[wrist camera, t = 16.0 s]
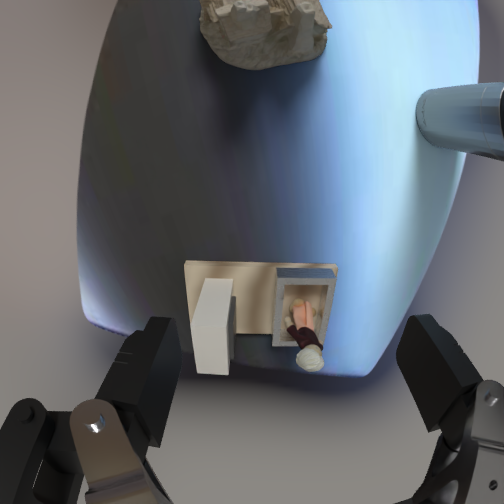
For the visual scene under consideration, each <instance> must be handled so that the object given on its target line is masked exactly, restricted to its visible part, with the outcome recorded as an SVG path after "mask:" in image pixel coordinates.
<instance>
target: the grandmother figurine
mask: <svg viewBox="0 0 504 504" xmlns="http://www.w3.org/2000/svg"><path fill="white" fill-rule="evenodd" d="M289 311H290V312H291V313H293V318H294V322H295V325H296V327H295V325H294V324H293V322H291V318H290V317H288V316H287V317H285V318H284V319H283V321H284V323H285V326H286V328H287V329H286V330H287V332H288V333H289V334H290V335H291V336H292V337H293V339H294V340H295V341H296V342H297V344H298V345H299V347H300V348H301V351H300V352H299V353H298V354H297V358H296V363H297V364H298V365H299V366H300V367H301V368H303V369H305V370H306V371H309V372H312V371H318V370H320V369H321V368H322V367H323V366H324V360H323V358H322V352H321V351H322V350H323V342H322V341H321V340H318V338H317V336H316V334H315V332H314V326H313V317H315V315H316V310H315V308H313V307H312V305H311V303H310V302H308V301H304V300H303V299H300V298H298V299H295V300H294V301H293V303H292V304H291V305H290V307H289Z"/></svg>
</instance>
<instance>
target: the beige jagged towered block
mask: <svg viewBox="0 0 504 504" xmlns="http://www.w3.org/2000/svg"><path fill="white" fill-rule="evenodd" d="M199 1H200V4H201V7H202V9H201V16H200V18H199V20H200V31H201V33H202V34H203V36H204V38H205V39H206V40H207V42H208V44H209V45H210V47H211V49H212V50H213V51H214V52H215V53H216V55H218V57H219V58H220V59H221V60H223V61H224V62H225V63H228V64H230V65H233V66H236V67H239V68H243V69H248V70H262V69H266V68H271V67H274V66H279V65H287V64H292V63H297V62H303V61H310V60H313V59H315V58H316V57H318V56H319V55H321V54H322V53H323V51H324V49H325V47H326V43H327V36H326V32H327V29H329V28H332V25H331V24H330V23H329V20H328V18H327V17H326V15H325V13H324V11H323V9H322V6H321V4H320V2H319V0H199Z"/></svg>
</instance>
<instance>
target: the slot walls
mask: <svg viewBox="0 0 504 504" xmlns="http://www.w3.org/2000/svg"><path fill="white" fill-rule="evenodd" d="M336 280H337V278H336V276H335V274H334V272H333V270H332V268H279V267H276V278H275V293H274V307H273V320H272V333H271V335H272V346H299V345H298V344H297V342H296V341H295V340H294V339H293V337H292V336H291V335H290V334H289V333H288V332H287V330H286V329H281V320H282V309H283V299H284V287H285V285H322V291H321V297H320V303H319V309H318V314H317V320H316V325H315V329H314V332H315V334H316V336H317V338H318V340H321V341H322V342H323V344H324V340H325V335H326V331H327V326H328V321H329V316H330V312H331V307H332V301H333V296H334V291H335V285H336Z"/></svg>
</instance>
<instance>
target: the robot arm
mask: <svg viewBox="0 0 504 504" xmlns="http://www.w3.org/2000/svg"><path fill="white" fill-rule="evenodd" d="M416 116H417V122H418V125H419V128H420V130H421V132H422V134H423V136H424V137H425V138H426V139H427V141H429V142H430V143H431V144H432V145H434V146H436V147H440V148H445V149H451V150H455V151H461V152H465V153H470V154H475V155H479V156H484V157H488V158H492V159H496V160H500V161H504V82H497V83H483V84H471V85H461V86H452V87H444V88H438V89H431V90H428V91H426V92H424V93H423V94H422V95H421V97H420V98H419V100H418V103H417V109H416ZM396 359H397V364H398V366H399V368H400V370H401V372H402V374H403V376H404V379H405V381H406V383H407V385H408V387H409V389H410V391H411V393H412V396H413V398H414V400H415V402H416V405H417V407H418V409H419V411H420V414H421V416H422V418H423V421H424V423H425V425H426V428H427V430H428V432H432V431H435V430H438V429H441V431H442V433H441V435H440V436H439V438H438V440H437V444H436V447H435V450H434V453H433V456H432V460H431V462H430V466H429V468H428V471H427V474H426V476H425V479H424V481H423V483H422V484H421V486H420V487H419V488H418V490H417V491H416V492H415V493H414V495H413V497H412V498H410V499H407V500H404V501H401V502H398V503H395V504H504V387H503V386H502V385H501V384H500V383H498V382H496V381H493V380H485V381H484V380H483V379H482V377H481V376H480V374H479V373H478V371H477V370H476V368H475V367H474V365H473V364H472V362H471V361H470V360H469V358H468V357H467V355H466V354H465V353H463V350H462V348H461V347H460V345H458V343H457V341H456V340H455V339H454V337H453V336H452V335H451V334H450V333H449V332H448V331H447V330H445V329H444V328H442V327H441V326H439V324H438V323H437V322H436V320H435V319H434V318H433V316H432V315H430V314H423V315H413V316H410V317H409V319H408V321H407V324H406V326H405V329H404V332H403V335H402V337H401V340H400V342H399V345H398V348H397V352H396ZM181 367H182V351H181V346H180V341H179V336H178V331H177V326H176V321H175V319H174V318H166V317H151V318H150V319H149V321H148V323H147V325H146V327H145V329H144V331H140V330H136V331H135V332H134V333H133V334H131V335H130V336H129V337H128V338H127V339H126V340H125V341H124V343H123V345H122V347H121V349H120V352H119V353H118V354H117V356H116V358H115V362H113V364H112V366H111V367H110V369H109V371H108V373H107V375H106V377H105V379H104V381H103V383H102V385H101V387H100V389H99V391H98V393H97V395H96V397H95V398H94V399H90V400H86V401H84V402H82V403H80V404H79V405H77V407H75V408H74V410H73V411H71V412H67V411H65V412H64V411H47V410H46V409H45V408H44V406H43V405H42V403H40V402H39V401H38V400H36V399H33V398H26V399H22V400H20V401H18V402H17V403H16V404H15V405H14V406H13V407H12V409H11V410H10V412H9V414H8V416H7V418H6V420H5V422H4V423H3V425H2V427H1V429H0V504H77V500H78V495H79V492H80V488H81V484H82V481H83V477H84V475H85V478H86V480H87V483H88V487H89V490H88V491H87V492H86V493H85V501H86V504H174V503H173V502H172V500H171V499H170V497H169V496H168V494H167V493H166V491H165V489H164V488H163V486H162V485H161V483H160V481H159V479H158V478H157V476H156V474H155V472H154V471H153V469H152V467H151V465H150V464H149V462H148V460H147V458H146V453H147V449H148V446H152V447H158V448H160V445H161V441H162V437H163V433H164V430H165V426H166V422H167V418H168V415H169V411H170V407H171V403H172V400H173V396H174V392H175V389H176V385H177V382H178V378H179V375H180V371H181ZM42 460H43V461H42ZM41 462H42V464H41ZM40 464H41V467H40ZM39 467H40V470H39ZM38 470H39V472H38ZM37 473H38V475H37ZM36 476H37V478H36ZM35 478H36V481H35ZM34 481H35V484H34ZM33 484H34V487H33Z"/></svg>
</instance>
